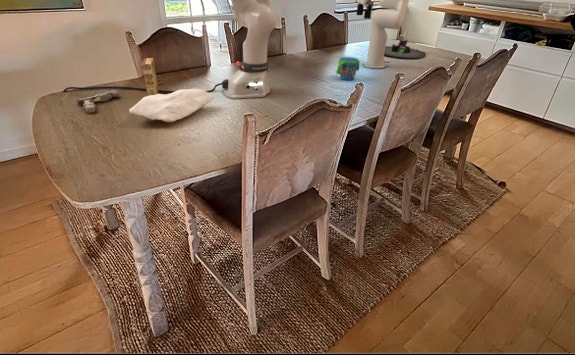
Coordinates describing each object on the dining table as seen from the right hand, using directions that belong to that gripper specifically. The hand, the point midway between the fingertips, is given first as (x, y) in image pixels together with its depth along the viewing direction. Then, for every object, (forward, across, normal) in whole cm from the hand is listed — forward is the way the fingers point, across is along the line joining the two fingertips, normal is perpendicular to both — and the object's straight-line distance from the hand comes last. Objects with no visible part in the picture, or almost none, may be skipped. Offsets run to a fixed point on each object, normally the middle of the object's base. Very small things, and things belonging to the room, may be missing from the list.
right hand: (363, 16), depth 180 cm
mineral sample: (+32, -54, +54) cm, 83 cm away
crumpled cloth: (+32, +35, -94) cm, 105 cm away
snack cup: (+32, -2, -4) cm, 32 cm away
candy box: (+32, +12, -103) cm, 108 cm away
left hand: (+7, -31, -51) cm, 60 cm away
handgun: (+32, +20, -124) cm, 129 cm away
